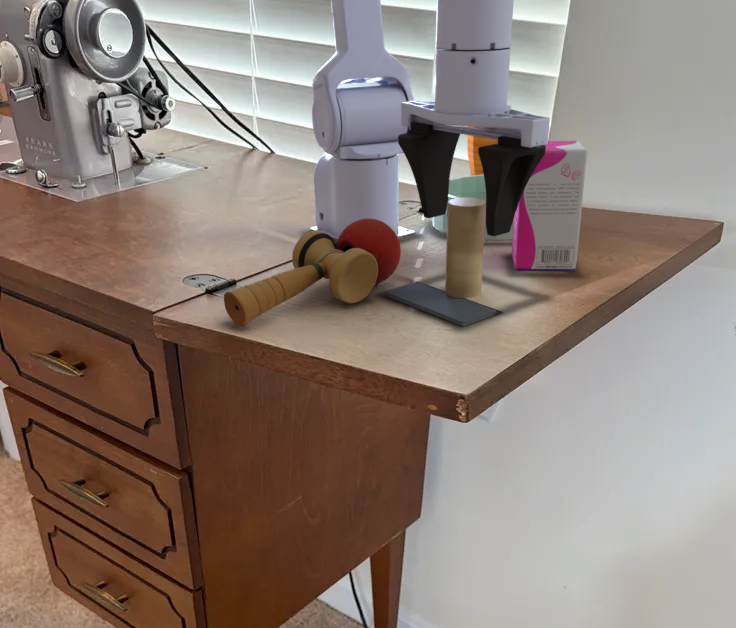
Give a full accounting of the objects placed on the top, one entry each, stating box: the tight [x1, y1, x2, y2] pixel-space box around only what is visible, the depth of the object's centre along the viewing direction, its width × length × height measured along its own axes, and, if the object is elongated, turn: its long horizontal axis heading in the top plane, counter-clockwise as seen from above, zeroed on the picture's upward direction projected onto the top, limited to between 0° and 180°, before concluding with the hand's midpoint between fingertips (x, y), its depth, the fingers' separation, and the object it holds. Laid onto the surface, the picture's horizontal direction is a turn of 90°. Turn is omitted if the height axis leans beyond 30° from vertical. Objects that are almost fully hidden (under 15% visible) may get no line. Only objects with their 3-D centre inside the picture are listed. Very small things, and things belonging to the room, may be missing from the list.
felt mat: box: [383, 281, 503, 327], centre depth 70 cm, size 10×10×1 cm
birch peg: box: [444, 197, 486, 299], centre depth 68 cm, size 3×3×8 cm
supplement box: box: [511, 140, 588, 272], centre depth 75 cm, size 6×6×12 cm
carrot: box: [466, 126, 498, 175], centre depth 98 cm, size 5×5×15 cm
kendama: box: [223, 218, 402, 327], centre depth 69 cm, size 8×6×18 cm
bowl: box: [431, 174, 514, 241], centre depth 89 cm, size 14×14×4 cm
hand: (465, 224), depth 67 cm, fingers open, 7 cm apart
